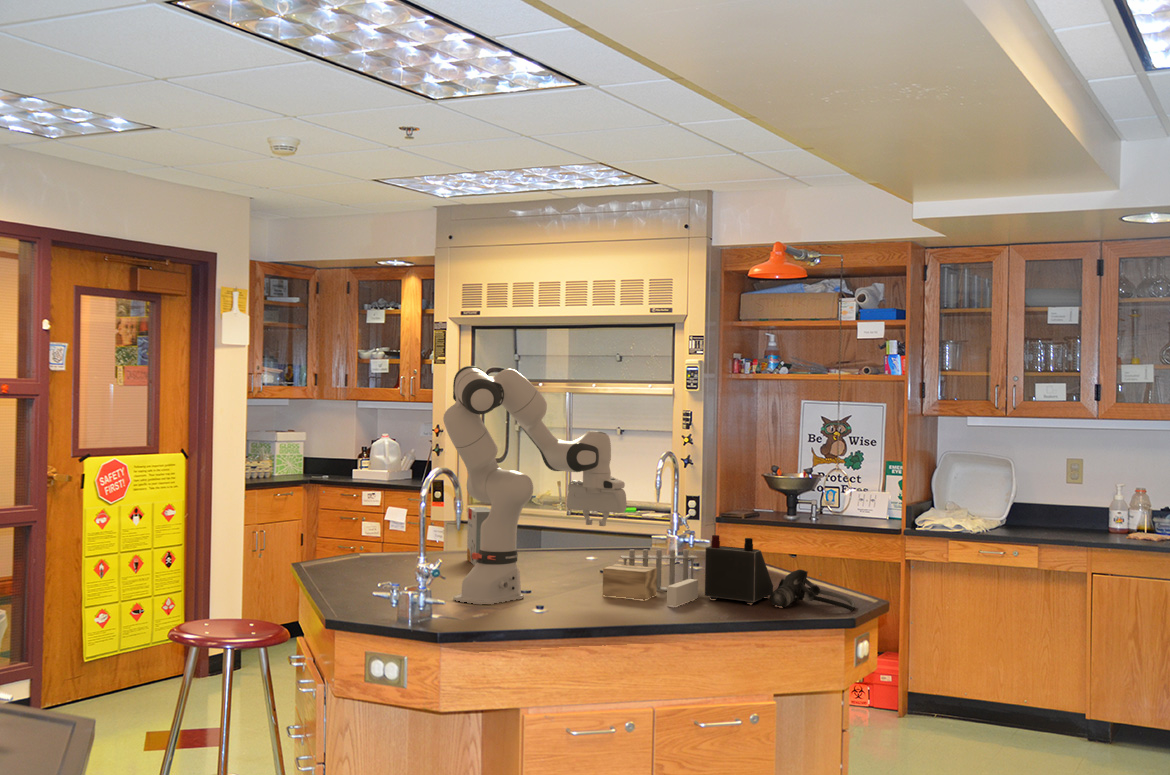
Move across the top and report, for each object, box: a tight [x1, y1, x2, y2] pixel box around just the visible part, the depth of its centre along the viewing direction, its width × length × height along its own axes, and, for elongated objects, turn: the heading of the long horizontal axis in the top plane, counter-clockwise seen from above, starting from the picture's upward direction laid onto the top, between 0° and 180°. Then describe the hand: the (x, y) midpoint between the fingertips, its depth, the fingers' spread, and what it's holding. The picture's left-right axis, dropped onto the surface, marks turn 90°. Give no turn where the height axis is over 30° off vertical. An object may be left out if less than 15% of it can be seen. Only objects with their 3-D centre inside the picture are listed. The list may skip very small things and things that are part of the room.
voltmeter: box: [704, 534, 774, 603], centre depth 319 cm, size 16×16×20 cm
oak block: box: [602, 563, 658, 600], centre depth 320 cm, size 10×14×9 cm
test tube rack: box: [619, 548, 699, 591], centre depth 332 cm, size 25×4×13 cm, turn 98°
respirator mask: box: [769, 569, 856, 611], centre depth 311 cm, size 20×22×15 cm
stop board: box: [666, 578, 699, 606], centre depth 311 cm, size 16×3×6 cm, turn 150°
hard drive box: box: [466, 506, 491, 567], centre depth 381 cm, size 16×8×20 cm, turn 17°
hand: (595, 525), depth 327 cm, fingers open, 3 cm apart
